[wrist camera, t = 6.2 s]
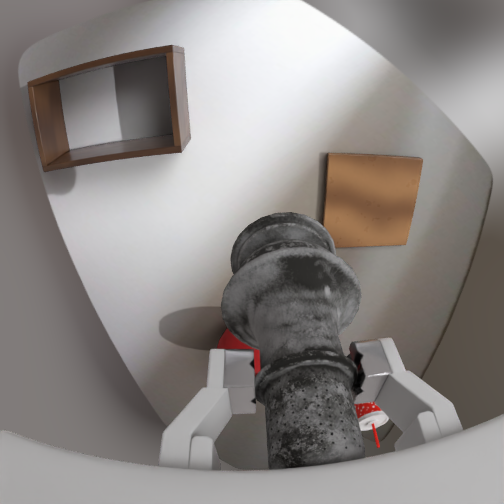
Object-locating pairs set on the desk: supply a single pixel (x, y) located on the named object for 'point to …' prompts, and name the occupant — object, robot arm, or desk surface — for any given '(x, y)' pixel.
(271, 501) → the robot arm
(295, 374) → the grey stone turned piece
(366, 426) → the beverage cup
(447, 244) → the desk surface
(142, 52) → the open wooden box
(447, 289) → the desk surface
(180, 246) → the desk surface
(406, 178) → the trivet
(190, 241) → the desk surface
